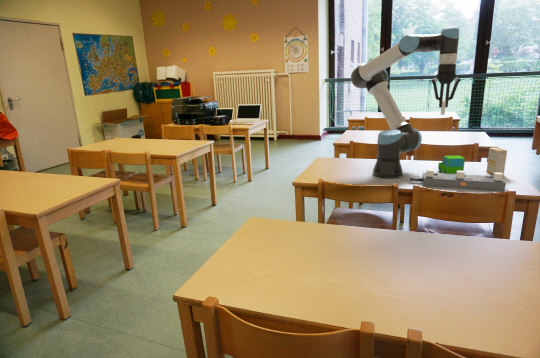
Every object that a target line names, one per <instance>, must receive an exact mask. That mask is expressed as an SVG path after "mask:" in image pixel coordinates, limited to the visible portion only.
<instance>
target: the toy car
mask: <svg viewBox="0 0 540 358" xmlns="http://www.w3.org/2000/svg"><path fill="white" fill-rule="evenodd" d="M465 160H466V158H465V157H464V156H461V155H443V158H442V160H441V162H438V164H437V168H438V169H437V170H438V172H439V173H443V174H456V172H457V171H464V169H465V163H466V161H465ZM464 172H465V171H464Z"/></svg>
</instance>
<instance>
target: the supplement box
mask: <svg viewBox="0 0 540 358" xmlns="http://www.w3.org/2000/svg"><path fill="white" fill-rule="evenodd" d="M507 154H508V150H507V149H504V148H501V147H495V146H494V147H489V149H488V157H487V165H486V172H487V173H489V174H491V175H492V176H494V172H500V173H502V174H503V176H504V175H505V168H506V161H507Z"/></svg>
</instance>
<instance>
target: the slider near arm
mask: <svg viewBox="0 0 540 358" xmlns="http://www.w3.org/2000/svg"><path fill="white" fill-rule="evenodd" d="M425 173H426V177H433V175H434V173H435V169H432V168H430V169H429V168H427V169H426V172H425Z"/></svg>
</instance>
